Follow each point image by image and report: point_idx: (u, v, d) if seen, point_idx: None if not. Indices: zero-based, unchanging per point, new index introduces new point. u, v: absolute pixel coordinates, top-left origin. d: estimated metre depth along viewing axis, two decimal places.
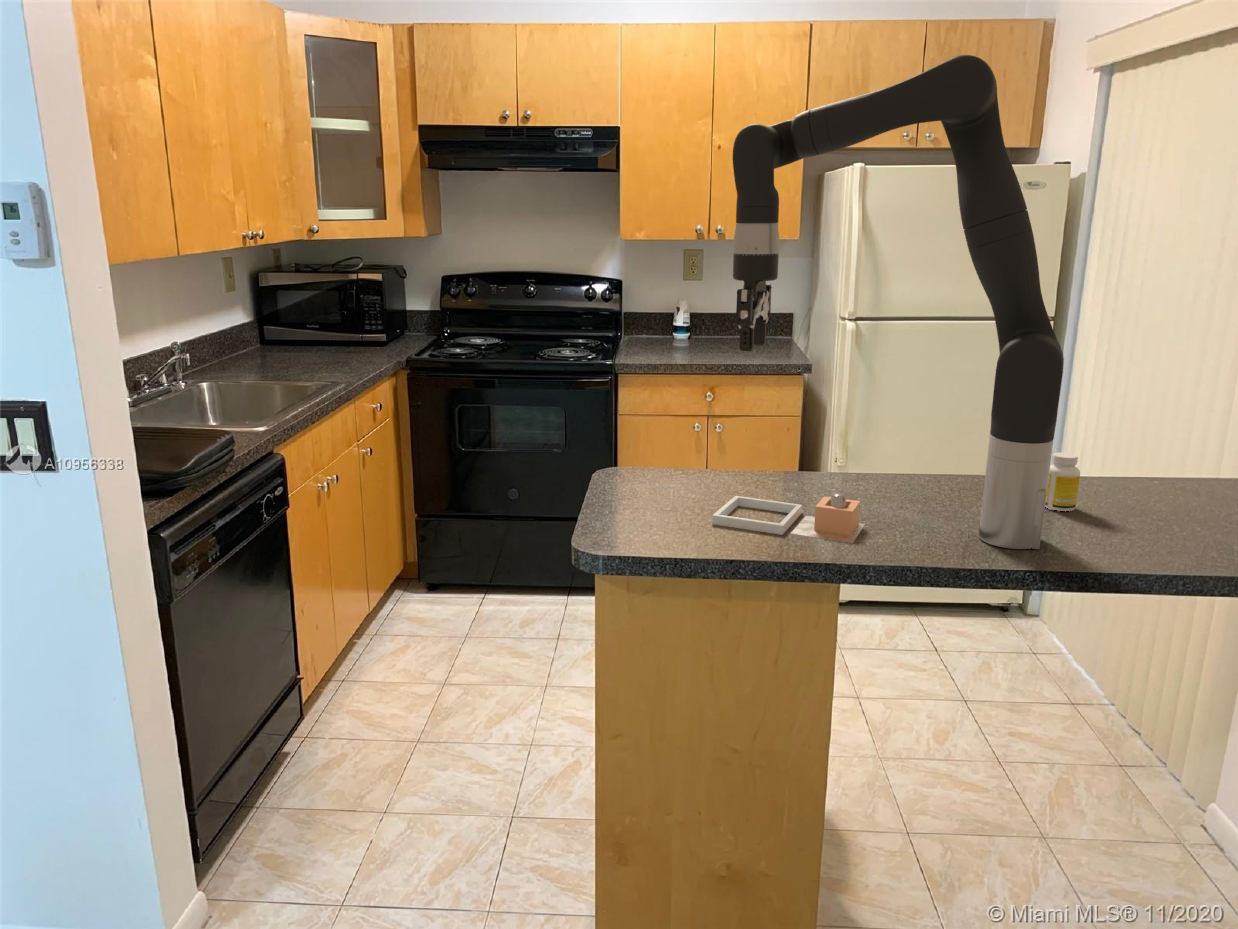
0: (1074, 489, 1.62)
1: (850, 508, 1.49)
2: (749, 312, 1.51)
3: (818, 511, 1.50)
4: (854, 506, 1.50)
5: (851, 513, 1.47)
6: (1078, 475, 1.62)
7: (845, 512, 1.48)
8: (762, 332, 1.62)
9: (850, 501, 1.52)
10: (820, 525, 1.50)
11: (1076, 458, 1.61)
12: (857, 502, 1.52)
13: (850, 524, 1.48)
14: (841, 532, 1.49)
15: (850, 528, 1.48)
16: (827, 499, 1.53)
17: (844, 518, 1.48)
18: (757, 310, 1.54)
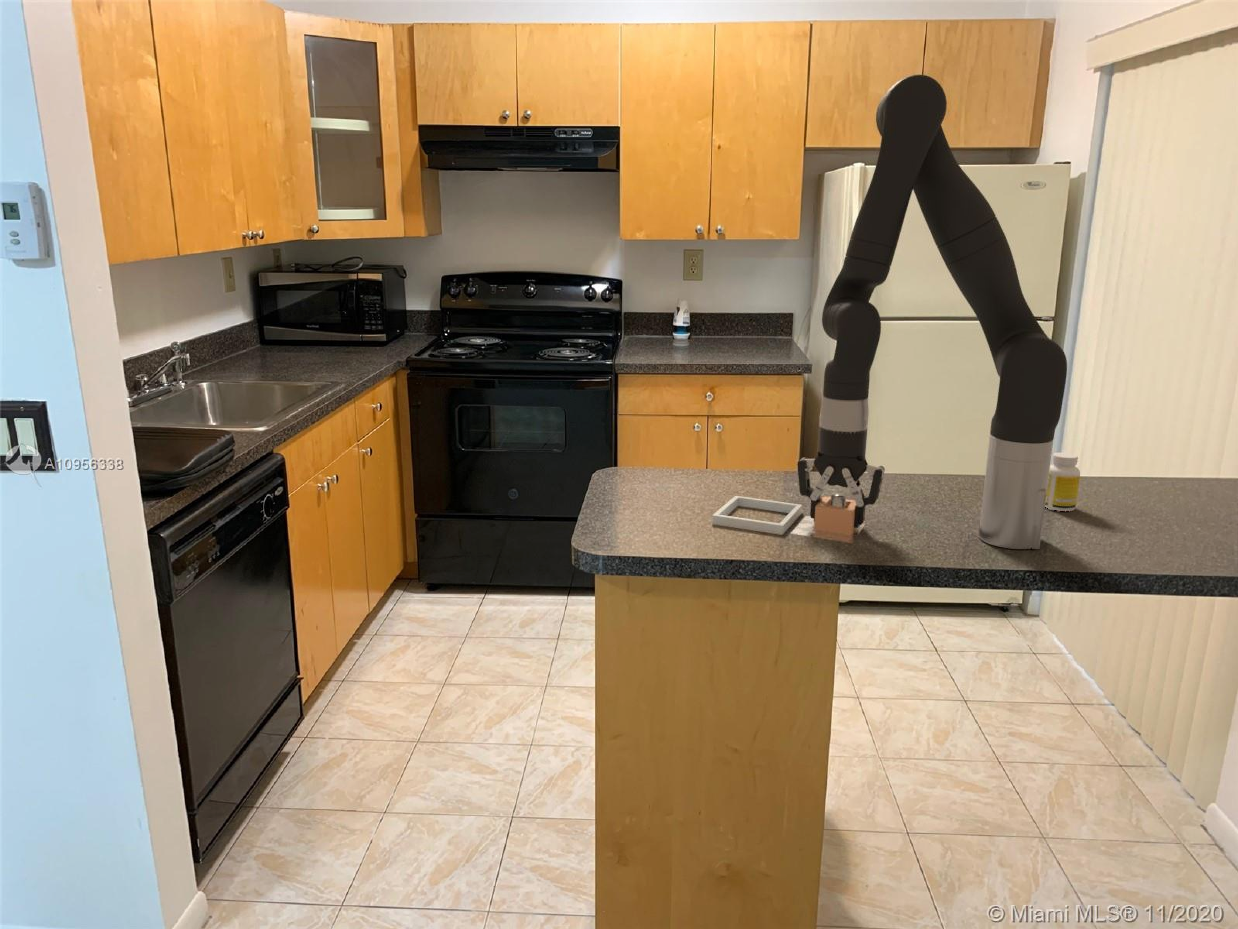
0: (1074, 489, 1.62)
1: (850, 508, 1.49)
2: None
3: (818, 511, 1.50)
4: (854, 506, 1.50)
5: (851, 513, 1.47)
6: (1078, 475, 1.62)
7: (845, 512, 1.48)
8: None
9: (850, 501, 1.52)
10: (820, 525, 1.50)
11: (1076, 458, 1.61)
12: None
13: (850, 524, 1.48)
14: (841, 532, 1.49)
15: (850, 528, 1.48)
16: (827, 499, 1.53)
17: (844, 518, 1.48)
18: None
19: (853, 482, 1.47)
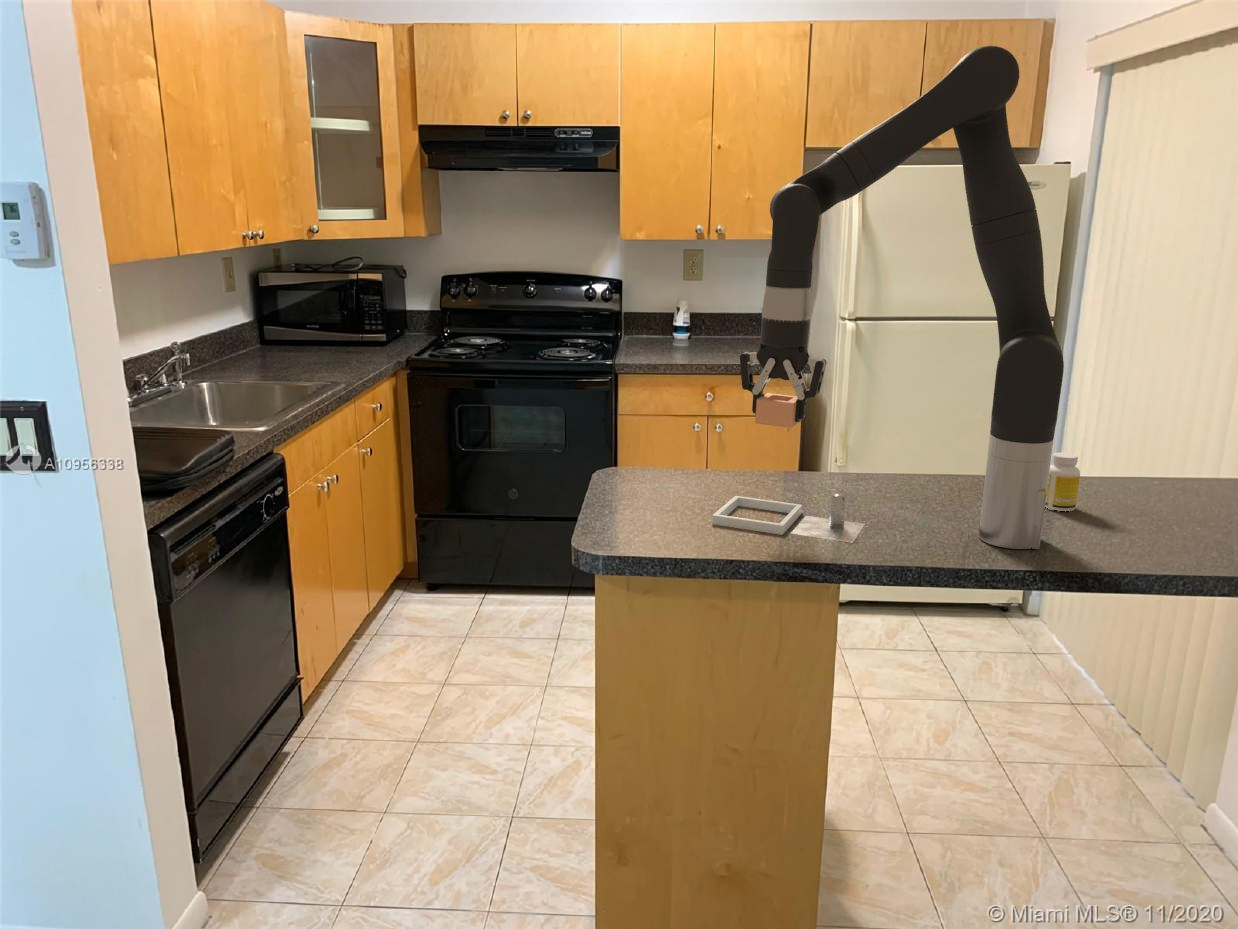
0: (1074, 489, 1.62)
1: (791, 401, 1.48)
2: (821, 382, 1.47)
3: (759, 404, 1.49)
4: None
5: (792, 405, 1.46)
6: (1078, 475, 1.62)
7: (786, 404, 1.47)
8: None
9: (793, 396, 1.51)
10: (761, 418, 1.49)
11: (1076, 458, 1.61)
12: None
13: (790, 417, 1.47)
14: (781, 425, 1.48)
15: (790, 421, 1.47)
16: (770, 394, 1.52)
17: (785, 410, 1.47)
18: None
19: (794, 374, 1.46)
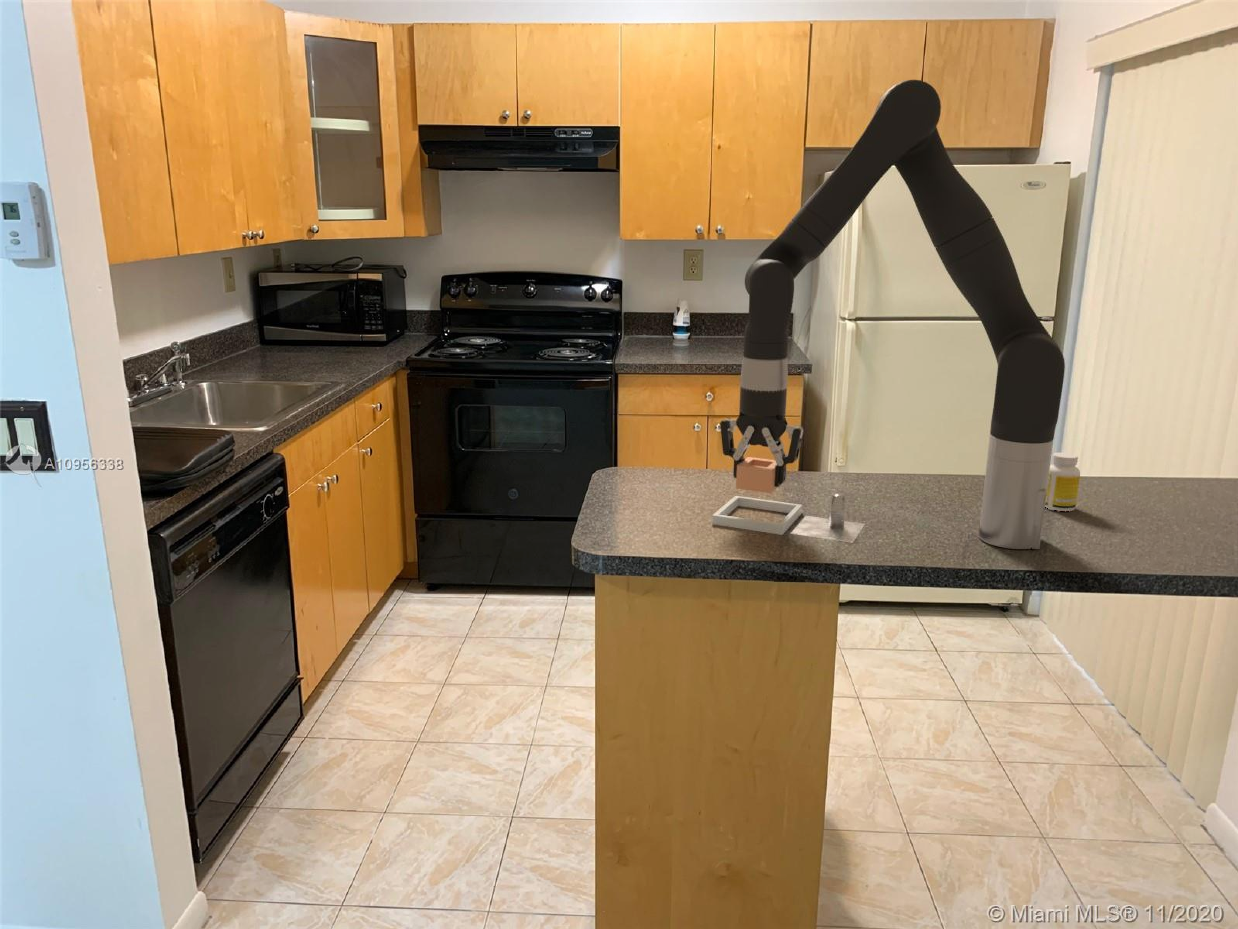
0: (1074, 489, 1.62)
1: (771, 467, 1.52)
2: (799, 448, 1.51)
3: (739, 470, 1.52)
4: (775, 465, 1.52)
5: (771, 471, 1.50)
6: (1078, 475, 1.62)
7: (765, 471, 1.51)
8: None
9: (772, 461, 1.55)
10: (742, 483, 1.53)
11: (1076, 458, 1.61)
12: None
13: (770, 482, 1.51)
14: (761, 490, 1.52)
15: (770, 486, 1.51)
16: (750, 459, 1.56)
17: (764, 477, 1.51)
18: None
19: (773, 441, 1.50)
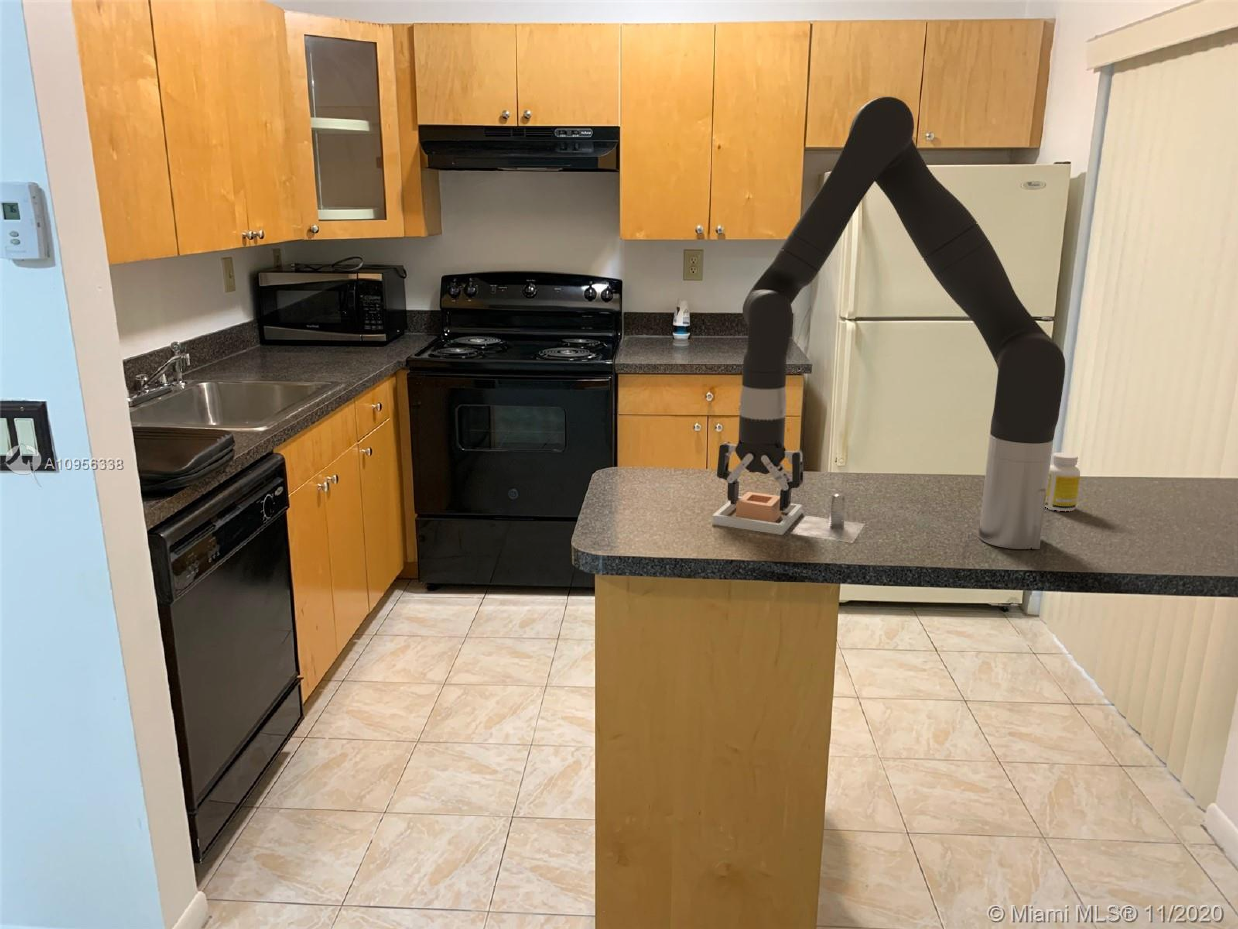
0: (1074, 489, 1.62)
1: (770, 503, 1.53)
2: None
3: (739, 506, 1.54)
4: (774, 501, 1.54)
5: (770, 508, 1.52)
6: (1078, 475, 1.62)
7: (764, 507, 1.52)
8: (737, 490, 1.57)
9: (772, 496, 1.56)
10: None
11: (1076, 458, 1.61)
12: (778, 497, 1.56)
13: (769, 518, 1.52)
14: None
15: None
16: (750, 494, 1.57)
17: (764, 513, 1.52)
18: (784, 468, 1.54)
19: (772, 469, 1.51)
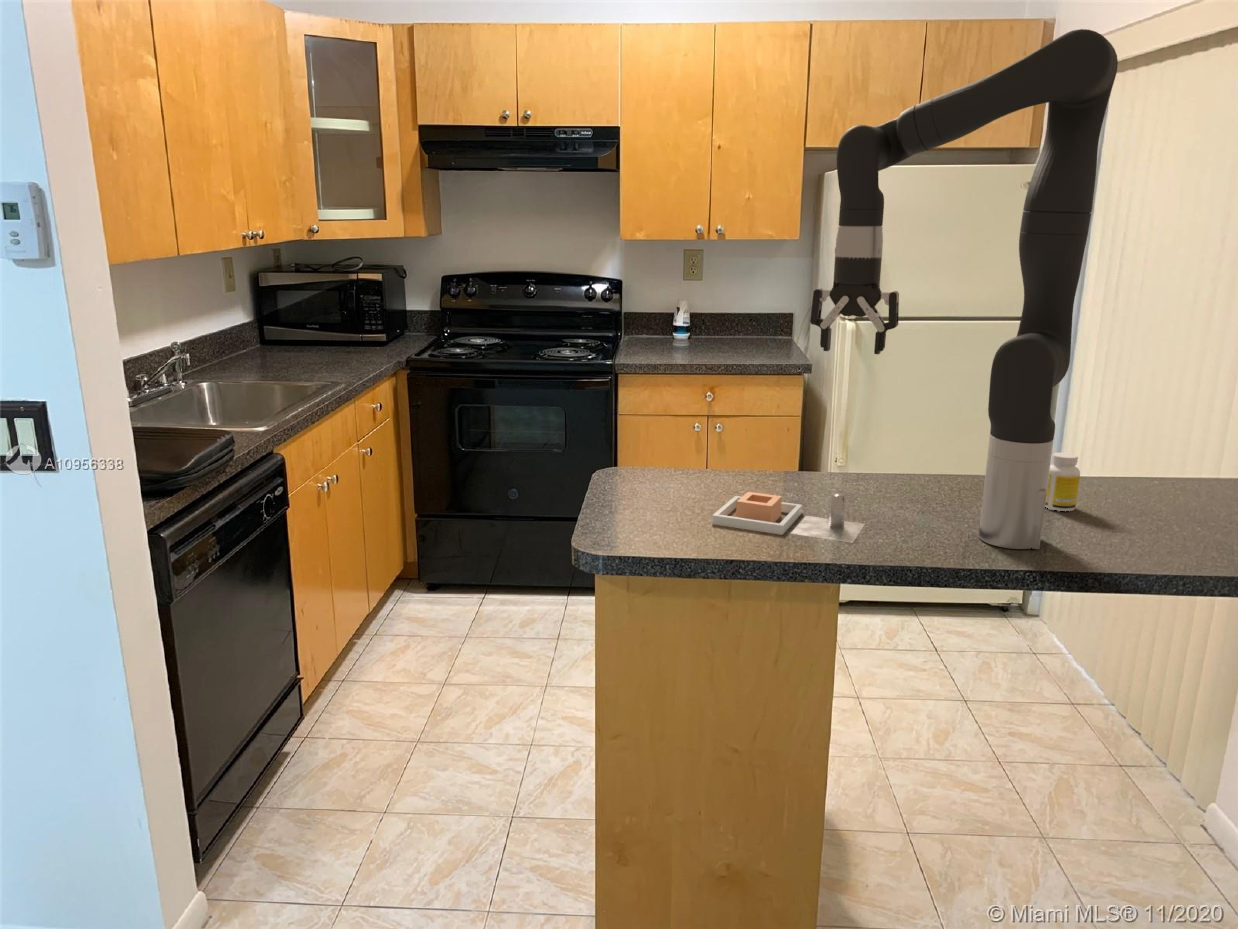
0: (1074, 489, 1.62)
1: (770, 503, 1.53)
2: (898, 313, 1.53)
3: (739, 506, 1.54)
4: (774, 501, 1.54)
5: (770, 508, 1.52)
6: (1078, 475, 1.62)
7: (764, 507, 1.52)
8: (830, 337, 1.58)
9: (772, 496, 1.56)
10: None
11: (1076, 458, 1.61)
12: (778, 497, 1.56)
13: (769, 518, 1.52)
14: None
15: None
16: (750, 494, 1.57)
17: (764, 513, 1.52)
18: (878, 312, 1.55)
19: (868, 310, 1.52)
